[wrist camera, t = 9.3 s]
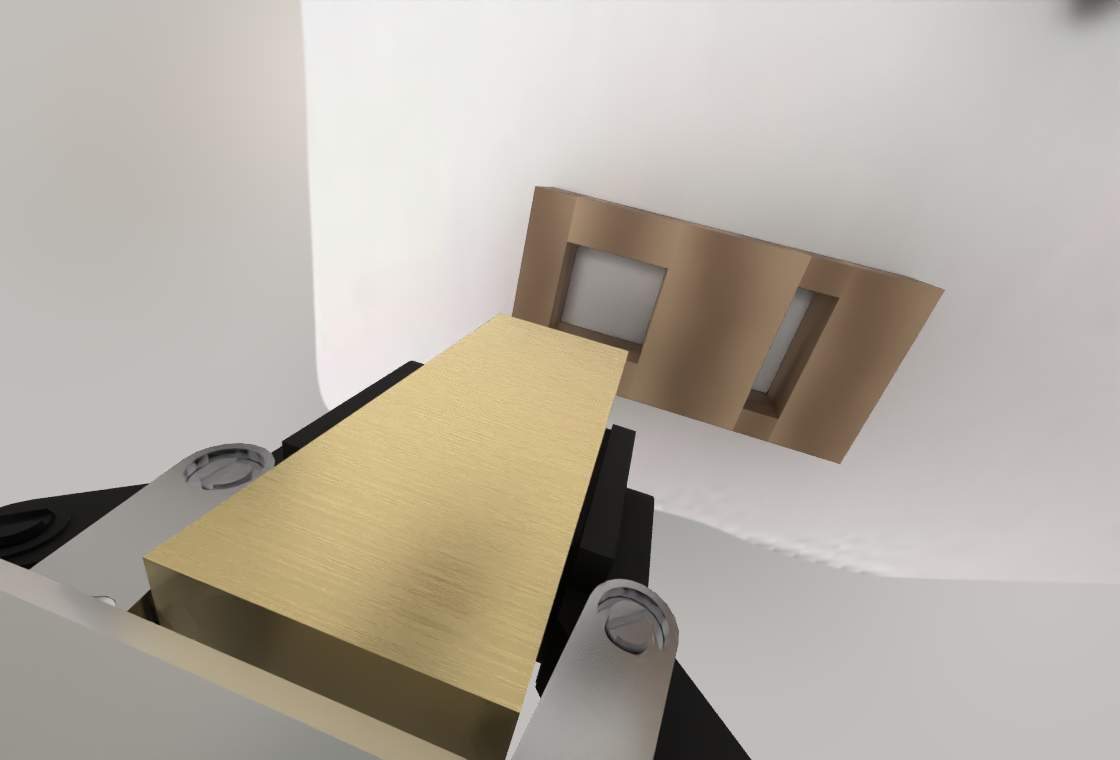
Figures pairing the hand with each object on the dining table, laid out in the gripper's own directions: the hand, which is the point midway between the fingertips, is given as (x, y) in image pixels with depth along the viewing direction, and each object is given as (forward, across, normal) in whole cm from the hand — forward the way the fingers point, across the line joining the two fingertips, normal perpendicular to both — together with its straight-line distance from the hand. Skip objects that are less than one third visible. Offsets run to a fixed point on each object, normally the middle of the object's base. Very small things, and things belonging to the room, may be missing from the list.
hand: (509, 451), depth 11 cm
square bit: (+4, 0, 0) cm, 4 cm away
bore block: (+19, -5, 0) cm, 20 cm away
